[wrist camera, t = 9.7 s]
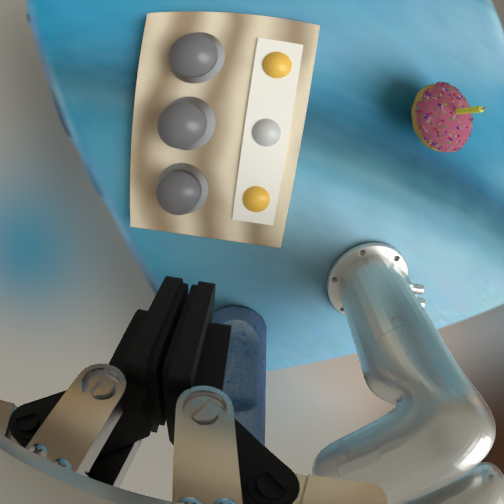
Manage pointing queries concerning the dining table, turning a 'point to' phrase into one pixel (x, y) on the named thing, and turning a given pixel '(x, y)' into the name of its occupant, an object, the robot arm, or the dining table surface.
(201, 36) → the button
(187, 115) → the button middle
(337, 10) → the dining table surface
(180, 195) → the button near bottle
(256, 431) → the bottle
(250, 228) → the button board
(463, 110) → the cupcake
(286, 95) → the pattern card
